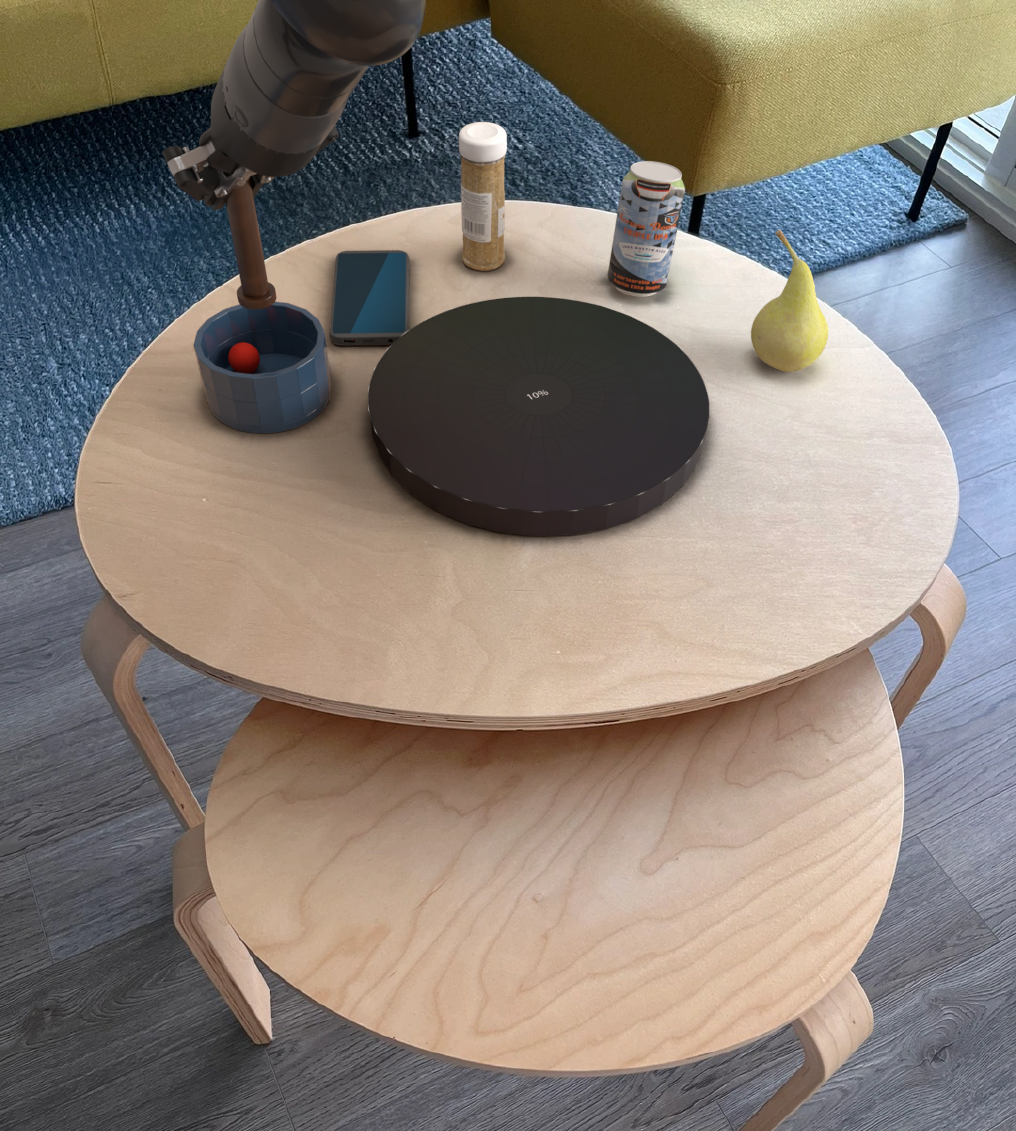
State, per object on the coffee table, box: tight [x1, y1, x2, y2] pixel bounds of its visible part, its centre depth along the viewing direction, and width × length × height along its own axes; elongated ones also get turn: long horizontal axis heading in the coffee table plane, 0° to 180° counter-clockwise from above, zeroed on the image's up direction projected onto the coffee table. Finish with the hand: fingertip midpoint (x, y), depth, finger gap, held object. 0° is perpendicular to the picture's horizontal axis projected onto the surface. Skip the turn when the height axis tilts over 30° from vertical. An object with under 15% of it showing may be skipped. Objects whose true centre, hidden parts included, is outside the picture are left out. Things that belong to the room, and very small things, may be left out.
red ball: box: [228, 342, 260, 374], centre depth 102 cm, size 3×3×3 cm
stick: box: [225, 178, 278, 310], centre depth 89 cm, size 3×3×12 cm
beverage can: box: [607, 160, 686, 298], centre depth 110 cm, size 6×7×12 cm
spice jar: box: [458, 121, 508, 271], centre depth 112 cm, size 5×5×13 cm
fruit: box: [750, 229, 829, 373], centre depth 102 cm, size 7×8×12 cm
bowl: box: [193, 301, 332, 435], centre depth 100 cm, size 11×11×6 cm
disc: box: [367, 295, 710, 537], centre depth 100 cm, size 30×30×3 cm
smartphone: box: [329, 249, 410, 346], centre depth 111 cm, size 8×15×1 cm, turn 3°
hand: (227, 192), depth 89 cm, fingers closed on stick, 2 cm apart
